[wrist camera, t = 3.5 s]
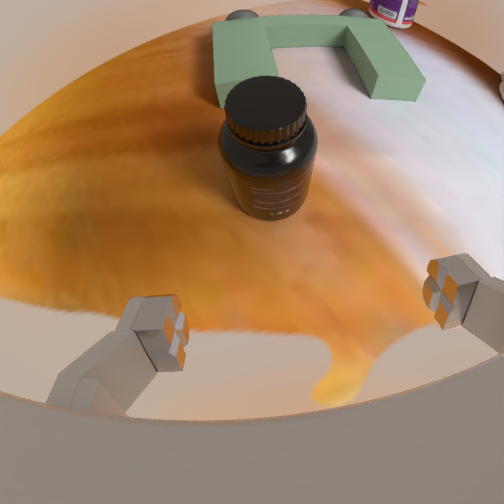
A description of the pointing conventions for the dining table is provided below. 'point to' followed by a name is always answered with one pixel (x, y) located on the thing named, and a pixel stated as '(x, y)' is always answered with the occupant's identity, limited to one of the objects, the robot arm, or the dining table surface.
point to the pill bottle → (394, 12)
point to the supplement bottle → (268, 146)
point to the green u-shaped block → (313, 34)
